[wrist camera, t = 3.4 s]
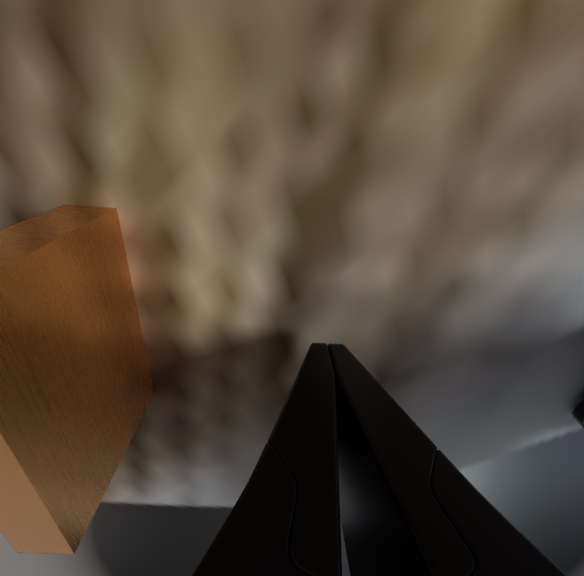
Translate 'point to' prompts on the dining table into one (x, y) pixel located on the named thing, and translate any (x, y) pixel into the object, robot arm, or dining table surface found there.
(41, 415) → the pin
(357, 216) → the dining table surface
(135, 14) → the dining table surface
